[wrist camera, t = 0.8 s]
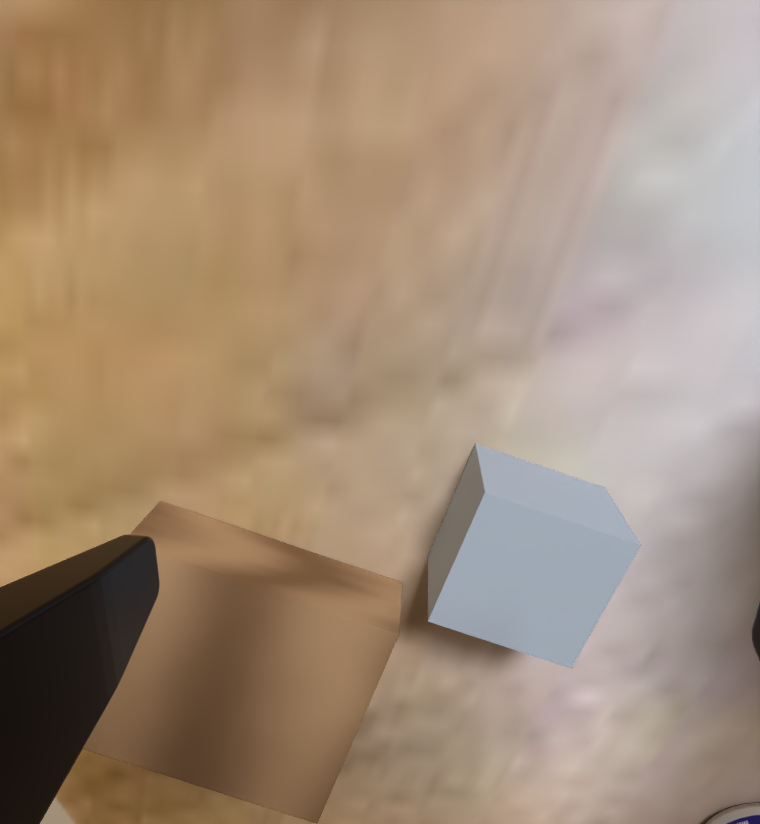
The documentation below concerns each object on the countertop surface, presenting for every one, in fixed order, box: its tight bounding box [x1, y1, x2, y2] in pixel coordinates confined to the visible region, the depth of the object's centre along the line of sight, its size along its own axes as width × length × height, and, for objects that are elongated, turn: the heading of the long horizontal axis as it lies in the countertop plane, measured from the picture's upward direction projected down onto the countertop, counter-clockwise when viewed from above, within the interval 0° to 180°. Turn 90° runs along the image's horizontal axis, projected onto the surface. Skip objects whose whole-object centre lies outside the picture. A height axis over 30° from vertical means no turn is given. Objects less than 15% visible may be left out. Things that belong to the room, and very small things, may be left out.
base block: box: [83, 501, 403, 824], centre depth 24 cm, size 10×10×3 cm
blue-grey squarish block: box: [428, 443, 641, 668], centre depth 21 cm, size 5×5×4 cm
